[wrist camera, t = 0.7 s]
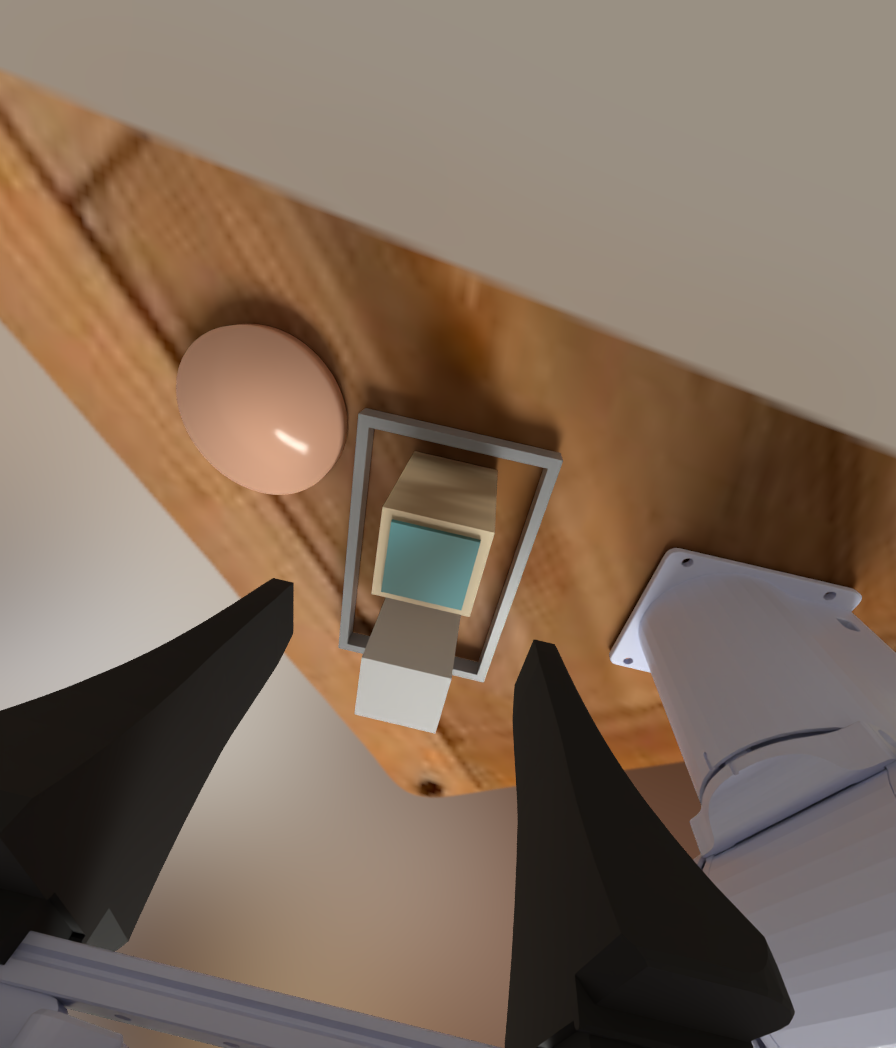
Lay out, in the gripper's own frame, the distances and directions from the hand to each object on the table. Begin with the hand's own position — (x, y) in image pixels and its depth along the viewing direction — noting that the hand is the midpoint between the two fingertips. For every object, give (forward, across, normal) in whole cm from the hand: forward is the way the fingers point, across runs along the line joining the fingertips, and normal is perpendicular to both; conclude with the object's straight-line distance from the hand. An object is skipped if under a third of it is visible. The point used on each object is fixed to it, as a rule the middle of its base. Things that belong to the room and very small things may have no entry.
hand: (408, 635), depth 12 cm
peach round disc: (+9, +9, -2) cm, 13 cm away
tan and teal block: (+9, 0, 0) cm, 9 cm away
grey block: (+9, 0, +8) cm, 12 cm away
